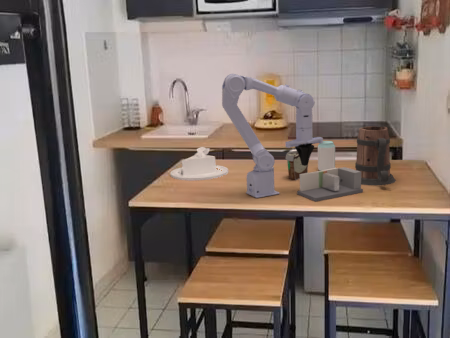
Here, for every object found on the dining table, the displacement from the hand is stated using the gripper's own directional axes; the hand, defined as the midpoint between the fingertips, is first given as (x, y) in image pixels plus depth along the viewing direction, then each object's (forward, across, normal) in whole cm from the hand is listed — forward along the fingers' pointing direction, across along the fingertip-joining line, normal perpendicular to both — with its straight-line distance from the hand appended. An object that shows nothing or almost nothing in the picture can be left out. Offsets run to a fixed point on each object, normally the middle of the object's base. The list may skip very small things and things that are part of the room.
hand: (304, 165), depth 182 cm
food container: (+10, +8, +19) cm, 23 cm away
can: (+10, +25, +21) cm, 34 cm away
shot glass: (+10, +20, +35) cm, 41 cm away
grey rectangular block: (+8, +7, -8) cm, 13 cm away
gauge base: (+9, +5, -8) cm, 13 cm away
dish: (+10, -21, +49) cm, 54 cm away
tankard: (+10, +28, -5) cm, 30 cm away
